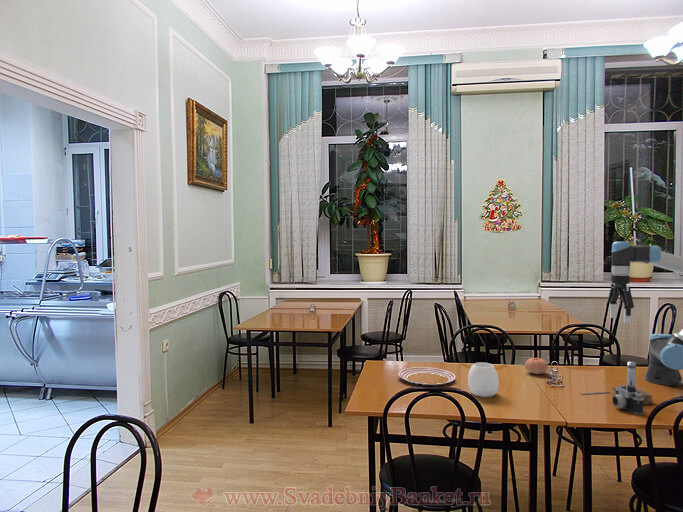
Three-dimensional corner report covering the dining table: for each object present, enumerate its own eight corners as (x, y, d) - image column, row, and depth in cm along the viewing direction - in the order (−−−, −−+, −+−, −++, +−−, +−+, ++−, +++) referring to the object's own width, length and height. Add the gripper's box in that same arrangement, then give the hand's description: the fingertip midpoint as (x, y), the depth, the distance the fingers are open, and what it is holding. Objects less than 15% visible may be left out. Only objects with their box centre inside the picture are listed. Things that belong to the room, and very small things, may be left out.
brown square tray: (638, 395, 218) (638, 387, 218) (652, 403, 207) (652, 395, 207) (612, 394, 219) (612, 387, 219) (624, 403, 208) (624, 395, 208)
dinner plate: (463, 377, 248) (463, 371, 248) (443, 393, 225) (443, 385, 225) (412, 370, 263) (412, 364, 263) (389, 383, 240) (389, 377, 240)
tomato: (521, 370, 259) (521, 355, 259) (541, 370, 260) (541, 355, 260) (531, 376, 248) (531, 360, 248) (552, 375, 249) (552, 360, 249)
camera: (602, 402, 210) (602, 378, 209) (621, 401, 210) (622, 378, 210) (624, 415, 194) (625, 390, 194) (645, 415, 195) (646, 390, 194)
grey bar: (633, 398, 215) (633, 361, 214) (637, 400, 211) (637, 363, 211) (625, 398, 215) (625, 361, 214) (629, 400, 212) (629, 363, 211)
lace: (608, 392, 223) (608, 391, 223) (610, 392, 222) (610, 392, 222) (580, 394, 220) (581, 393, 220) (582, 394, 219) (582, 394, 219)
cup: (477, 388, 230) (477, 359, 230) (504, 394, 221) (504, 364, 220) (462, 394, 221) (462, 365, 221) (489, 401, 212) (489, 370, 211)
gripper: (600, 272, 243) (599, 315, 244) (625, 277, 218) (624, 325, 219) (616, 272, 243) (615, 315, 244) (643, 277, 218) (642, 325, 219)
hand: (620, 320), depth 231 cm, fingers open, 13 cm apart
